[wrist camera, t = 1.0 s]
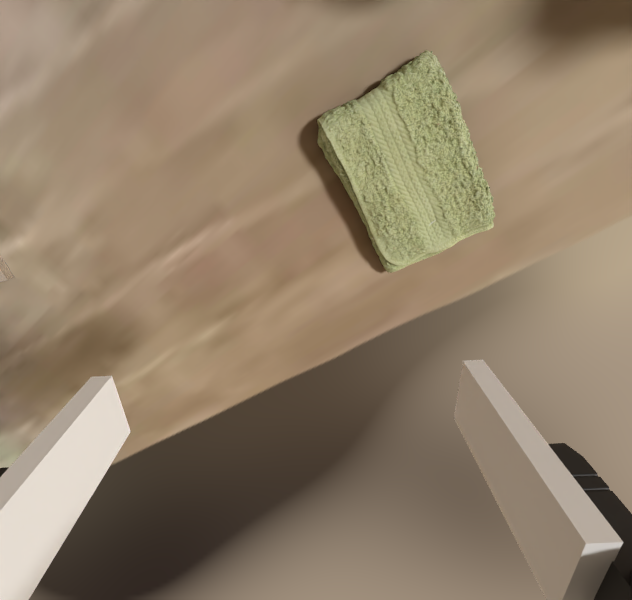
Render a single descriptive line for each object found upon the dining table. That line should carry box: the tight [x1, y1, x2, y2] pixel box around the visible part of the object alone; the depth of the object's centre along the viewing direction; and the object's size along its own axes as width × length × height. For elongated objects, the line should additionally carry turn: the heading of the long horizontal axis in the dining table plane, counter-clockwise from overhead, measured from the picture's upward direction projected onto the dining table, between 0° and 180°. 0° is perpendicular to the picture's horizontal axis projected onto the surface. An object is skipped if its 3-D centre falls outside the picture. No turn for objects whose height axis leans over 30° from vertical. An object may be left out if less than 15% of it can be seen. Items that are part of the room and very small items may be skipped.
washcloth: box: [317, 50, 495, 273], centre depth 35 cm, size 13×18×3 cm
